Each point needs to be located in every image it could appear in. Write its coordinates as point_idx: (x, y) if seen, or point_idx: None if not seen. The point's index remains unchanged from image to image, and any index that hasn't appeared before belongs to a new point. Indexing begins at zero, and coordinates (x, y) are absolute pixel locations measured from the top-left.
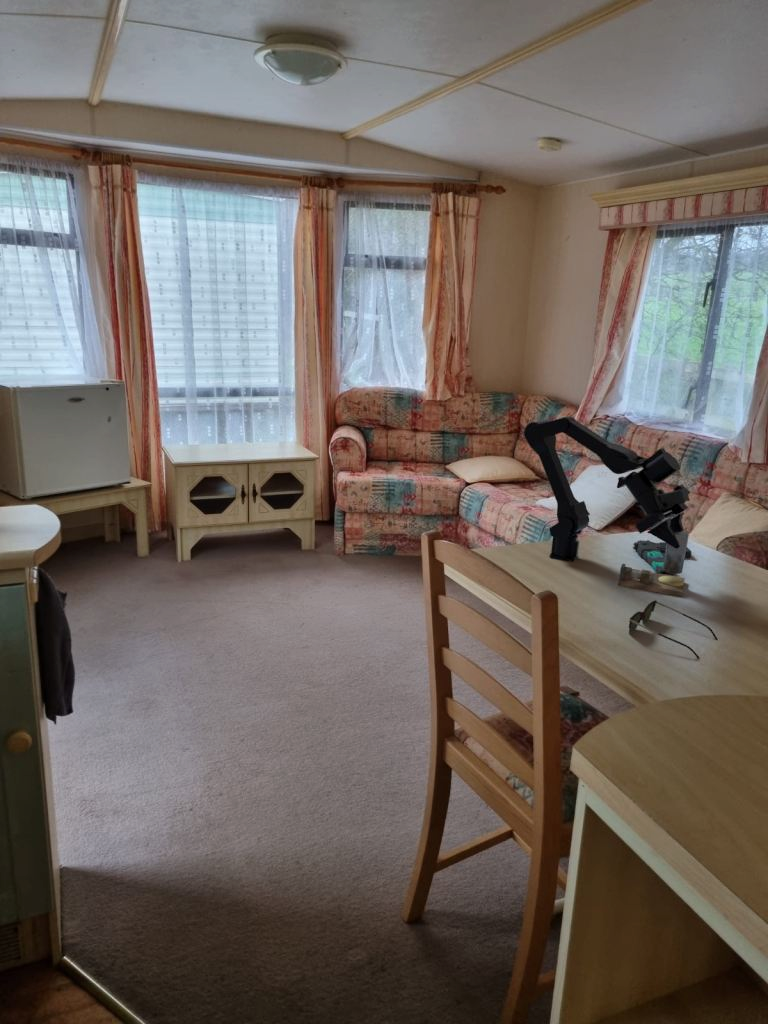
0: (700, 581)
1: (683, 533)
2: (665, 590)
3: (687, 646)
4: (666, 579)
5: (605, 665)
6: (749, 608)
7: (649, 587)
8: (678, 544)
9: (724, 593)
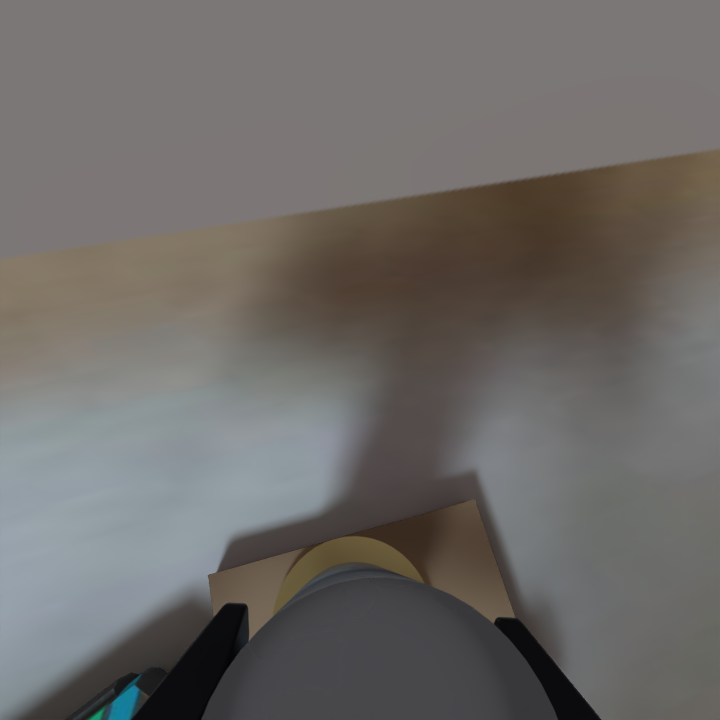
0: (128, 500)
1: (391, 677)
2: (506, 597)
3: None
4: None
5: None
6: (365, 234)
7: None
8: (533, 641)
9: (245, 351)
